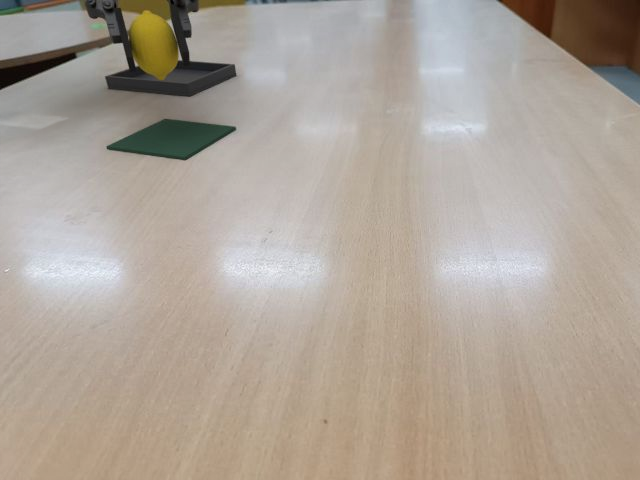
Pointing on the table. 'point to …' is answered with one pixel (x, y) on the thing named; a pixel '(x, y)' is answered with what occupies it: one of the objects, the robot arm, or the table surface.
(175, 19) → the robot arm
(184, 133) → the mat
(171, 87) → the tray
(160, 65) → the lemon
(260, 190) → the table surface
